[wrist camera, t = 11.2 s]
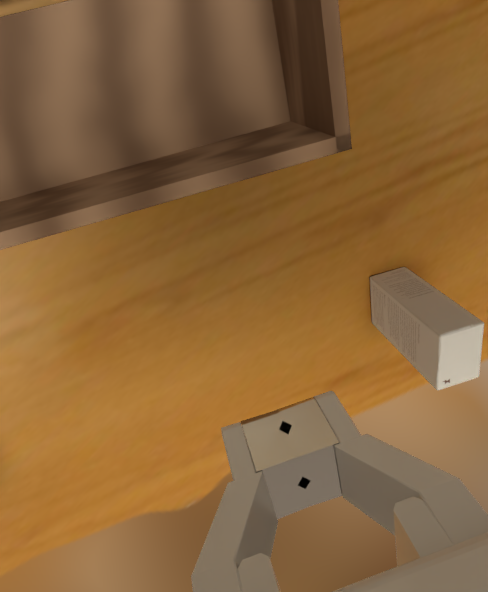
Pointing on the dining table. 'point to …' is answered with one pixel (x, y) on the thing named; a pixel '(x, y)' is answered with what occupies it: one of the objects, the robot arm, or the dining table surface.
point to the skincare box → (427, 327)
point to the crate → (159, 103)
